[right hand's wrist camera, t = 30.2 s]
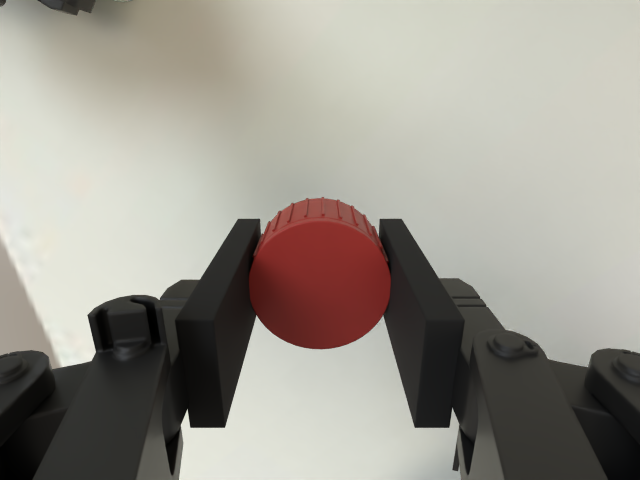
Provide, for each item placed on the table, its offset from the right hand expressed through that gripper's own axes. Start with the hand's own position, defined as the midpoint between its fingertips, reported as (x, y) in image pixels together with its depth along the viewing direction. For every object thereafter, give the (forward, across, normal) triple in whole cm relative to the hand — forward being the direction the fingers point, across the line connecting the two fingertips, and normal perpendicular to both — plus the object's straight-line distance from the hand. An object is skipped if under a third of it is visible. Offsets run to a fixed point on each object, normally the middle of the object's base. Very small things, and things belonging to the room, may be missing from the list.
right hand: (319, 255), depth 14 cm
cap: (-2, 0, 0) cm, 2 cm away
